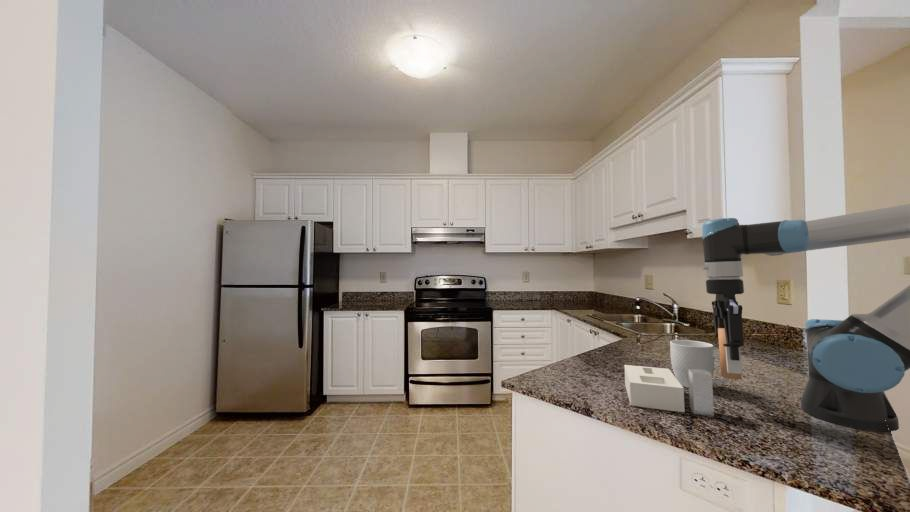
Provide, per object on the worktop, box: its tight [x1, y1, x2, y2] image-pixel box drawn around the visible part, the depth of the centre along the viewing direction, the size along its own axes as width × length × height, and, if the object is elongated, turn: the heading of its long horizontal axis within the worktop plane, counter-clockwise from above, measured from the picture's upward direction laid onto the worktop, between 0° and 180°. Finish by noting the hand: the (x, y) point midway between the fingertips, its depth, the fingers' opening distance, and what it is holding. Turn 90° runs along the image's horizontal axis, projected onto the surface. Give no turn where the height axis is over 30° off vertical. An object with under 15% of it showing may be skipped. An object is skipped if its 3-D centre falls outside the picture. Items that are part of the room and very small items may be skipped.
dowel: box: [717, 328, 743, 380], centre depth 85 cm, size 4×4×12 cm
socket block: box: [624, 364, 685, 413], centre depth 94 cm, size 12×18×6 cm, turn 157°
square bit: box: [688, 369, 715, 417], centre depth 84 cm, size 4×4×10 cm
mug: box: [669, 339, 730, 389], centre depth 101 cm, size 15×11×13 cm
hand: (731, 370), depth 84 cm, fingers closed on dowel, 4 cm apart
